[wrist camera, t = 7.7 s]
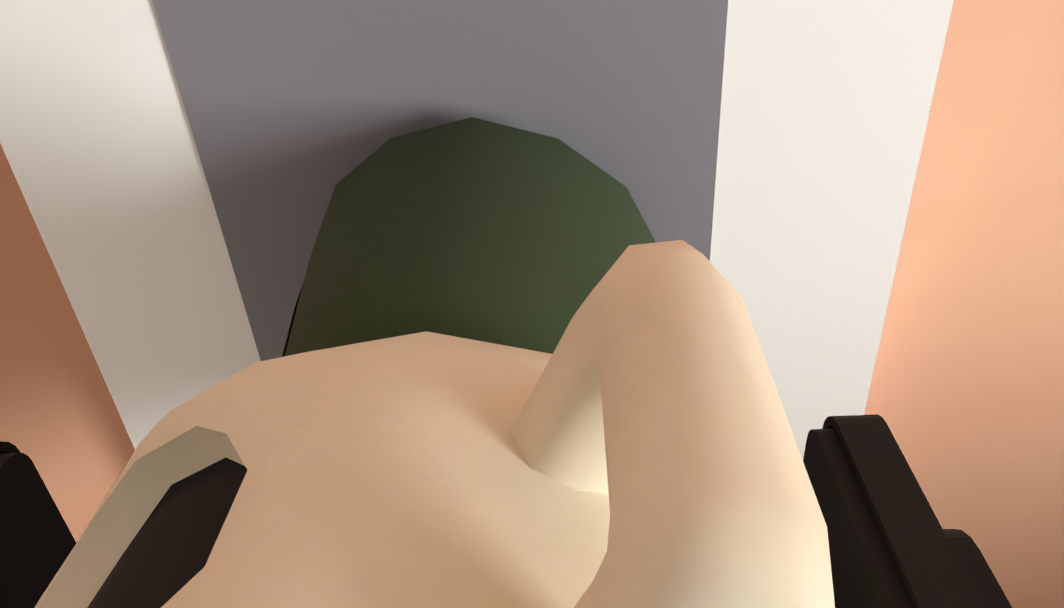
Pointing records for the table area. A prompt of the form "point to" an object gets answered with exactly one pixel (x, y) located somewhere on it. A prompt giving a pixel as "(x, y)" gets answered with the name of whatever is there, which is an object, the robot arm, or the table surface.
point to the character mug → (476, 417)
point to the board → (447, 96)
